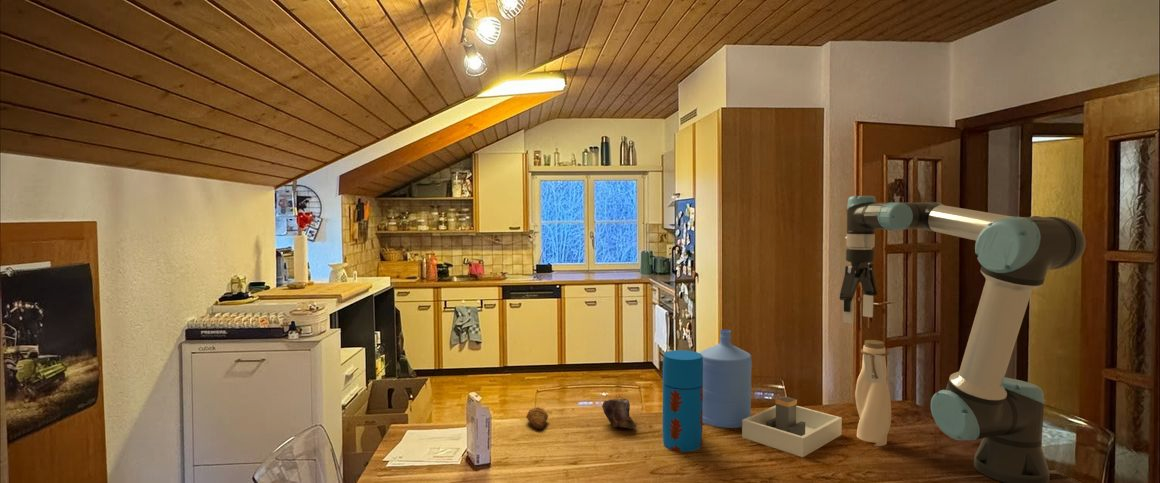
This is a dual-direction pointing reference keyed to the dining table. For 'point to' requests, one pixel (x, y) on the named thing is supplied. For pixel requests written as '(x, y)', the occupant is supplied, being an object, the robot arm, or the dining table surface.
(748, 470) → the dining table surface
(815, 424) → the box
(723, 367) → the water jug
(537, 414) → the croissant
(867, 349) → the water bottle
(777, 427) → the grey tall block
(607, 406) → the rock
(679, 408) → the thermos
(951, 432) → the robot arm
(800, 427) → the inlet
